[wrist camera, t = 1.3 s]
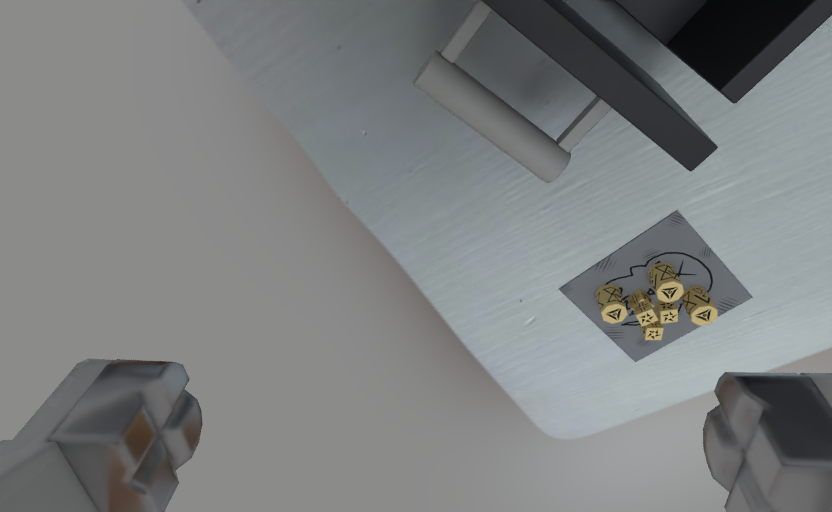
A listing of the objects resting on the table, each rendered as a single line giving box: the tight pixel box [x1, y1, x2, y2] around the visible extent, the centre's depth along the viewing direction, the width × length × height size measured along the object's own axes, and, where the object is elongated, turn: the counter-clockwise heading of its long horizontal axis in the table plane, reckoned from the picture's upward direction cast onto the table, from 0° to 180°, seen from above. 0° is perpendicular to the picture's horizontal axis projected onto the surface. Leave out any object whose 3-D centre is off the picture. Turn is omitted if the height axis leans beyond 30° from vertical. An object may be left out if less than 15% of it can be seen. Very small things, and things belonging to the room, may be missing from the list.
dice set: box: [595, 262, 719, 341], centre depth 33 cm, size 5×5×2 cm
